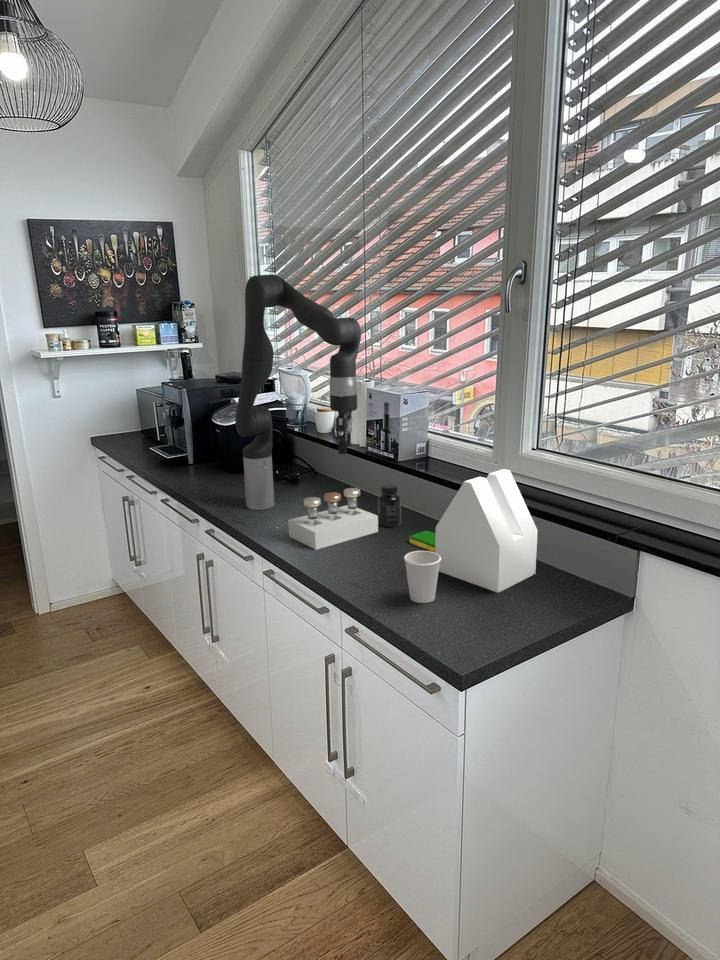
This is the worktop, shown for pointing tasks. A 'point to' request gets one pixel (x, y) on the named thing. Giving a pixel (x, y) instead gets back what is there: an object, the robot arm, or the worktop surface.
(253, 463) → the robot arm
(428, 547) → the dish sponge
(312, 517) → the knob
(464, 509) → the white house-shaped block
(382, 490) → the supplement bottle
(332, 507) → the knob centre
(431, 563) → the dixie cup
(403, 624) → the worktop surface
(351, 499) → the knob
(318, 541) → the mount
